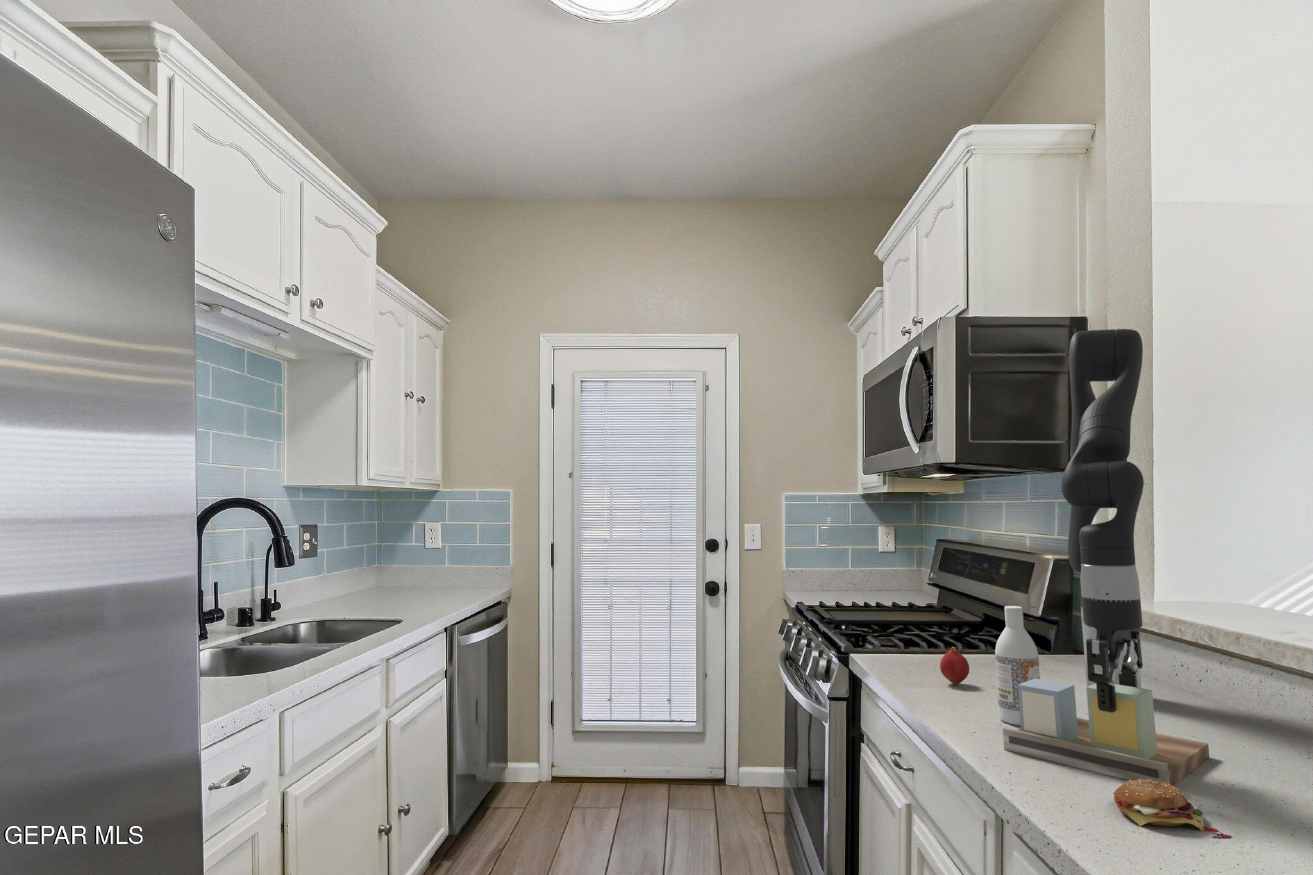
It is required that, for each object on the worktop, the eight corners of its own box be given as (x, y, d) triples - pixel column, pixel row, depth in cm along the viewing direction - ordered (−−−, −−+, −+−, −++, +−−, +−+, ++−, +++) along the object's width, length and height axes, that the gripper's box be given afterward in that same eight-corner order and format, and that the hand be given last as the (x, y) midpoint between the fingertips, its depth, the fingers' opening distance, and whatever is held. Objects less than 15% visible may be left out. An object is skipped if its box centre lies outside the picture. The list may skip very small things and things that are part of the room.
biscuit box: (1038, 728, 118) (1034, 678, 118) (1078, 737, 113) (1074, 684, 114) (1020, 737, 114) (1017, 684, 115) (1061, 746, 109) (1057, 691, 110)
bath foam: (1029, 729, 124) (1021, 610, 126) (991, 720, 130) (984, 606, 131) (1050, 722, 128) (1042, 607, 130) (1013, 713, 133) (1005, 603, 135)
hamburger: (1133, 845, 83) (1129, 791, 83) (1089, 797, 96) (1085, 750, 97) (1275, 856, 80) (1270, 799, 80) (1209, 804, 93) (1205, 756, 94)
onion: (938, 681, 158) (936, 644, 159) (965, 681, 157) (963, 644, 158) (945, 688, 152) (942, 649, 153) (973, 688, 152) (971, 649, 152)
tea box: (1104, 741, 111) (1099, 681, 112) (1157, 753, 105) (1152, 689, 106) (1090, 749, 108) (1085, 687, 108) (1144, 761, 102) (1139, 696, 103)
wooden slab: (1055, 724, 126) (1054, 706, 126) (1209, 757, 109) (1207, 735, 109) (1003, 749, 114) (1001, 728, 114) (1167, 790, 97) (1165, 765, 97)
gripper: (1120, 602, 101) (1129, 721, 100) (1155, 591, 110) (1164, 701, 109) (1063, 597, 107) (1071, 709, 106) (1101, 587, 116) (1109, 691, 115)
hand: (1118, 705), depth 107 cm, fingers open, 8 cm apart
